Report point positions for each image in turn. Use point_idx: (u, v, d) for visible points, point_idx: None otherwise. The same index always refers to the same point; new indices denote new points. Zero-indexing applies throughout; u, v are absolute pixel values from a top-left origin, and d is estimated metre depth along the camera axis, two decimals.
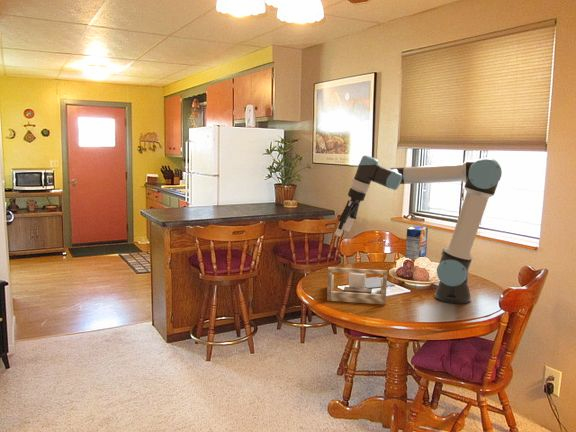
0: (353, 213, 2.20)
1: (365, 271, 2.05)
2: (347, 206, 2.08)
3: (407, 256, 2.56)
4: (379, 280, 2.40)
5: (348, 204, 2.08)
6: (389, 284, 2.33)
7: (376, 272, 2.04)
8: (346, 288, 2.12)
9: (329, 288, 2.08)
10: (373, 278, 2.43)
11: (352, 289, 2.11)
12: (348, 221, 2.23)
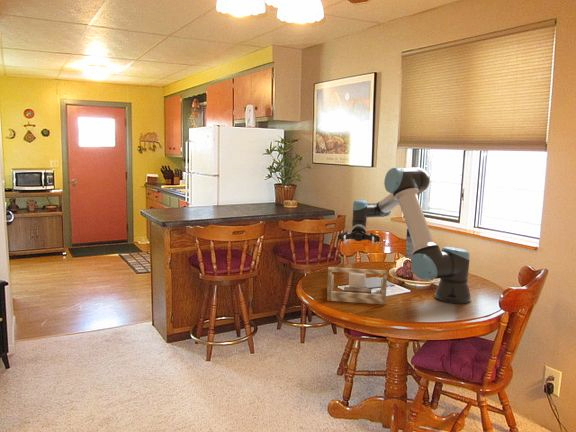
0: (369, 236, 2.35)
1: (365, 271, 2.05)
2: None
3: (407, 256, 2.56)
4: (379, 280, 2.40)
5: None
6: (389, 284, 2.33)
7: (376, 272, 2.04)
8: (346, 288, 2.12)
9: (329, 288, 2.08)
10: (373, 278, 2.43)
11: (352, 289, 2.11)
12: None
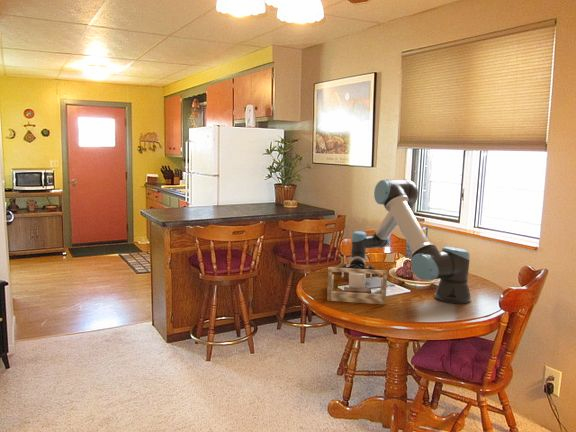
0: None
1: (365, 271, 2.05)
2: None
3: (407, 256, 2.56)
4: (379, 280, 2.40)
5: None
6: (389, 284, 2.33)
7: (376, 272, 2.04)
8: (346, 288, 2.12)
9: (329, 288, 2.08)
10: (373, 278, 2.43)
11: (352, 289, 2.11)
12: None
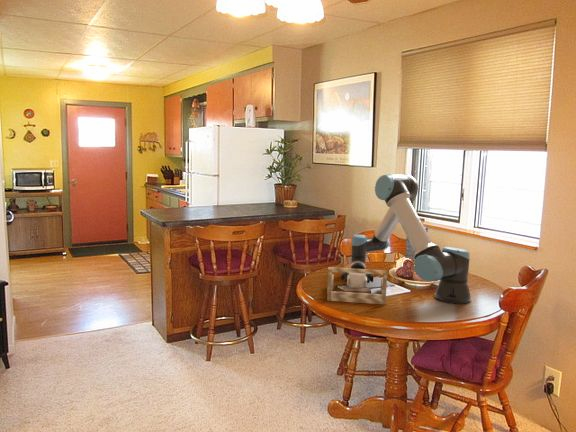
0: None
1: (365, 271, 2.05)
2: None
3: (407, 256, 2.56)
4: (379, 280, 2.40)
5: None
6: (389, 284, 2.33)
7: (376, 272, 2.04)
8: (346, 289, 2.11)
9: (329, 288, 2.08)
10: (373, 278, 2.43)
11: (352, 289, 2.10)
12: None
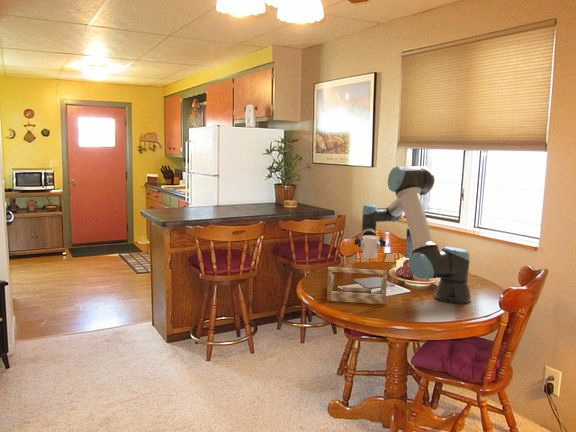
0: None
1: (365, 271, 2.05)
2: None
3: (407, 256, 2.56)
4: (379, 280, 2.40)
5: None
6: (389, 284, 2.33)
7: (376, 272, 2.04)
8: (345, 289, 2.11)
9: (329, 288, 2.08)
10: (373, 278, 2.43)
11: (352, 289, 2.10)
12: None
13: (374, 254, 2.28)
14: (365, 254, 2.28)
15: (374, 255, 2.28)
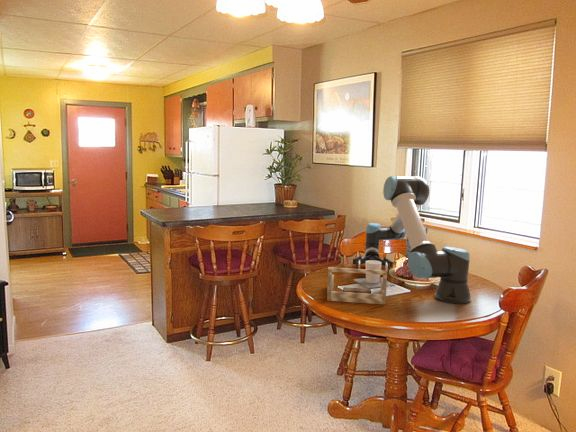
0: (382, 261, 2.42)
1: (365, 271, 2.05)
2: None
3: (407, 256, 2.56)
4: None
5: None
6: (389, 284, 2.33)
7: (376, 272, 2.04)
8: (345, 289, 2.11)
9: (329, 288, 2.08)
10: None
11: (352, 289, 2.10)
12: (385, 266, 2.38)
13: (377, 279, 2.34)
14: (368, 279, 2.35)
15: (377, 280, 2.34)
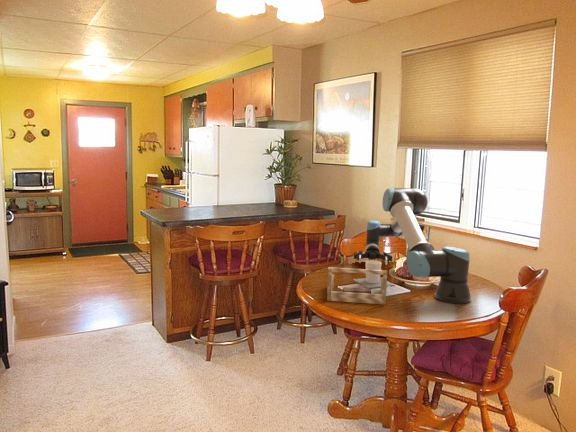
0: (382, 256, 2.55)
1: (365, 271, 2.05)
2: None
3: None
4: None
5: None
6: (389, 284, 2.33)
7: (376, 272, 2.04)
8: (345, 289, 2.11)
9: (329, 288, 2.08)
10: None
11: (352, 289, 2.10)
12: (385, 260, 2.50)
13: (377, 279, 2.34)
14: (368, 279, 2.35)
15: (377, 280, 2.34)
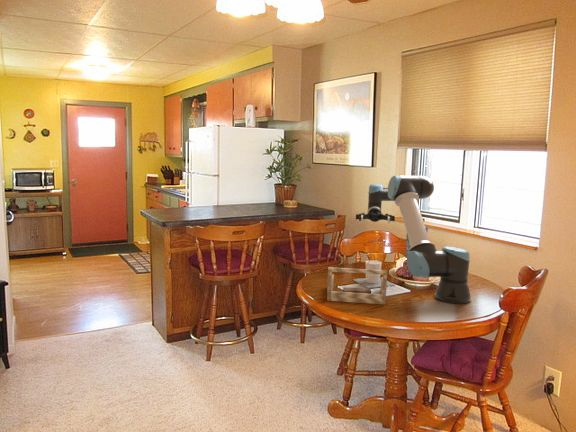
0: (385, 216, 2.52)
1: (365, 271, 2.05)
2: None
3: None
4: None
5: None
6: (389, 284, 2.33)
7: (376, 272, 2.04)
8: (345, 289, 2.11)
9: (329, 288, 2.08)
10: None
11: (352, 289, 2.10)
12: None
13: (377, 279, 2.34)
14: (368, 279, 2.35)
15: (377, 280, 2.34)
